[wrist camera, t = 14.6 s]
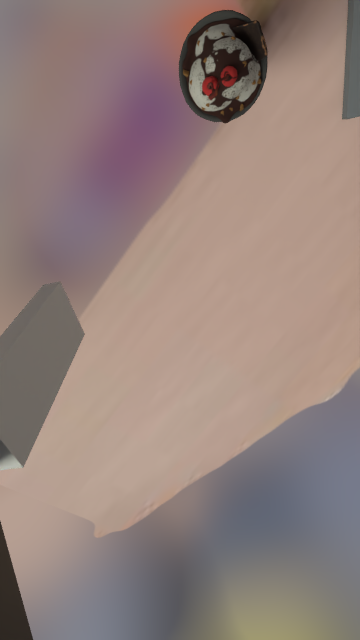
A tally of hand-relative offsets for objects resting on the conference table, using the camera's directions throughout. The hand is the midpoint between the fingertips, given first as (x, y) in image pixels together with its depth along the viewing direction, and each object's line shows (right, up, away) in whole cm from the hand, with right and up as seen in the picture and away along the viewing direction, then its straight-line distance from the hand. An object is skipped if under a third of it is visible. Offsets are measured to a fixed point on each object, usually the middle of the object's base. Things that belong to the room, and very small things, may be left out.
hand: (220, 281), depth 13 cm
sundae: (+2, +23, +20) cm, 30 cm away
